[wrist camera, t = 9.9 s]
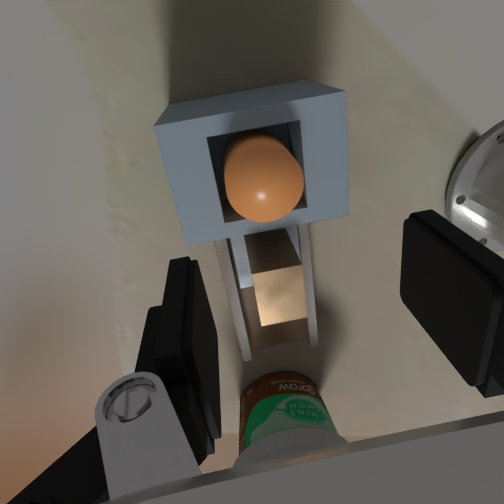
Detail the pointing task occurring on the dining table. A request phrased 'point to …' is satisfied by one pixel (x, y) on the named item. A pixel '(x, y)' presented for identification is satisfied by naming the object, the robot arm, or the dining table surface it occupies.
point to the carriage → (272, 273)
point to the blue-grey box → (245, 118)
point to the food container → (283, 418)
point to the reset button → (261, 176)
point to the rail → (247, 310)
